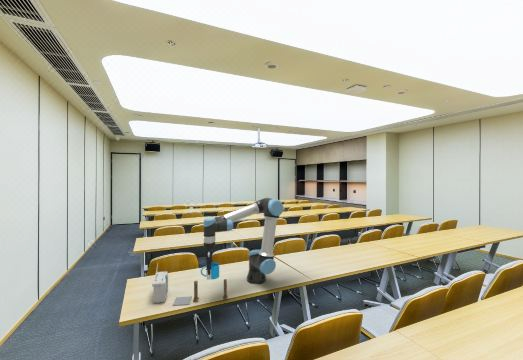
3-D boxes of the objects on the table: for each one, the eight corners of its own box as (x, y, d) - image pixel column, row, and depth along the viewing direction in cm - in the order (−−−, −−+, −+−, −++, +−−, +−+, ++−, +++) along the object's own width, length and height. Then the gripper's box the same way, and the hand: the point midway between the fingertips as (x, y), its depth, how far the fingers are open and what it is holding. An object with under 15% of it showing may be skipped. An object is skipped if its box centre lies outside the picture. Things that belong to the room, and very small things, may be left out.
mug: (219, 274, 167) (219, 262, 167) (219, 278, 159) (219, 266, 159) (201, 275, 165) (200, 263, 165) (200, 280, 157) (199, 267, 157)
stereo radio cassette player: (165, 303, 159) (165, 272, 158) (151, 304, 156) (151, 273, 156) (168, 288, 179) (168, 261, 178) (156, 290, 176) (155, 262, 176)
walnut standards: (227, 297, 166) (227, 278, 166) (227, 300, 162) (227, 280, 162) (194, 299, 164) (193, 280, 163) (193, 302, 160) (193, 282, 159)
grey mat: (191, 297, 166) (191, 296, 166) (189, 304, 156) (189, 304, 156) (176, 298, 165) (176, 297, 165) (172, 305, 155) (172, 305, 155)
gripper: (205, 238, 172) (205, 270, 172) (201, 246, 151) (202, 283, 152) (216, 237, 173) (216, 270, 173) (214, 246, 152) (214, 283, 153)
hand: (209, 276), depth 163 cm, fingers closed on mug, 8 cm apart
